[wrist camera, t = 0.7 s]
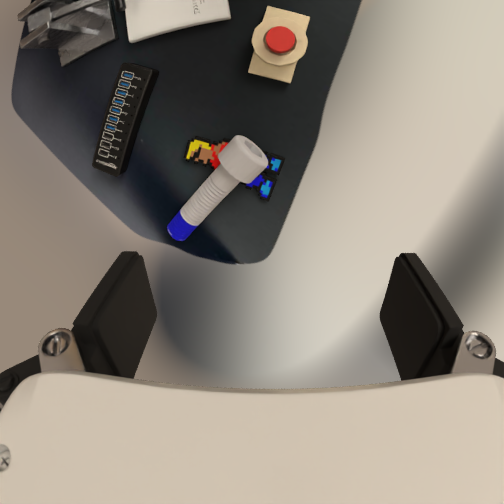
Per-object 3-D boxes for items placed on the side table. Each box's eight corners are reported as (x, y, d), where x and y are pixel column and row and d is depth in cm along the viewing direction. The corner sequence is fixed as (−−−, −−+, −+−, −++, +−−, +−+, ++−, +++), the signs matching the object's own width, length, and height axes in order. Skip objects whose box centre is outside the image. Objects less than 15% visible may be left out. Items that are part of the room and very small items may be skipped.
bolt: (233, 141, 29) (269, 171, 31) (238, 129, 33) (269, 155, 35) (155, 232, 37) (186, 254, 39) (166, 212, 41) (194, 232, 43)
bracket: (110, -7, 24) (60, -28, 14) (119, 38, 28) (67, 28, 18) (58, 22, 25) (4, 16, 15) (66, 66, 29) (9, 69, 19)
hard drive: (128, -7, 24) (223, -33, 23) (134, 43, 28) (231, 19, 27) (123, -10, 23) (221, -37, 22) (128, 42, 27) (229, 16, 26)
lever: (120, -20, 20) (120, -29, 18) (126, 11, 22) (126, 4, 20) (31, 14, 17) (26, 7, 15) (35, 46, 20) (29, 42, 18)
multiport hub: (159, 71, 30) (153, 70, 28) (125, 172, 37) (118, 177, 35) (130, 62, 30) (122, 61, 28) (99, 162, 37) (91, 167, 35)
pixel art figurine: (285, 158, 36) (192, 129, 34) (285, 158, 35) (191, 129, 34) (268, 200, 39) (180, 172, 37) (268, 201, 38) (179, 173, 37)
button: (269, 26, 25) (269, 23, 24) (296, 33, 26) (298, 30, 24) (262, 49, 27) (262, 47, 25) (289, 56, 27) (290, 54, 26)
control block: (263, 7, 26) (263, 0, 24) (312, 20, 27) (316, 14, 24) (244, 72, 31) (242, 70, 28) (293, 84, 31) (295, 83, 29)
